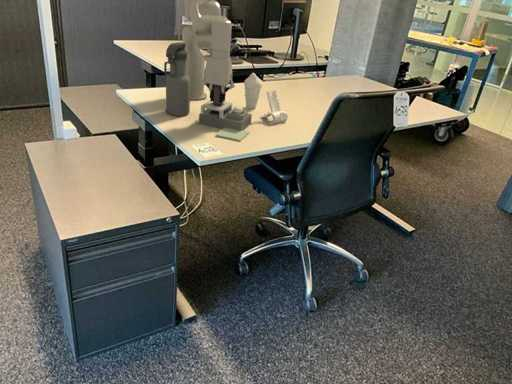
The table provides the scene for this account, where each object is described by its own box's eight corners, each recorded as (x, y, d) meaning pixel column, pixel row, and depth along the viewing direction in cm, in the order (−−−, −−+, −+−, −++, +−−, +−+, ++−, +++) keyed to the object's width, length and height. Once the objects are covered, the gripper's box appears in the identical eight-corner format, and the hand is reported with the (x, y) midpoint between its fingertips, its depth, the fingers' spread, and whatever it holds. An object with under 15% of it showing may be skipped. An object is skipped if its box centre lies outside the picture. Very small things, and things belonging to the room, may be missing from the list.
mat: (215, 136, 158) (215, 134, 158) (225, 128, 167) (225, 126, 167) (240, 141, 156) (240, 139, 156) (249, 133, 165) (249, 131, 164)
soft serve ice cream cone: (248, 103, 199) (251, 69, 192) (263, 107, 196) (267, 73, 188) (238, 107, 193) (241, 72, 185) (254, 111, 189) (257, 75, 182)
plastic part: (274, 125, 176) (277, 97, 171) (258, 117, 183) (261, 91, 177) (286, 122, 181) (290, 95, 176) (271, 115, 187) (274, 89, 182)
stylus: (211, 114, 170) (212, 84, 164) (214, 112, 173) (215, 82, 167) (218, 115, 169) (220, 85, 163) (222, 113, 172) (223, 84, 166)
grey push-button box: (198, 123, 169) (199, 105, 165) (210, 115, 179) (211, 98, 175) (241, 132, 164) (242, 114, 161) (250, 123, 175) (252, 106, 171)
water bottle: (178, 118, 172) (179, 47, 158) (160, 112, 176) (159, 42, 162) (194, 113, 179) (196, 44, 166) (176, 107, 184) (177, 40, 170)
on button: (232, 113, 167) (232, 108, 166) (235, 110, 170) (235, 106, 169) (240, 114, 166) (240, 110, 165) (243, 112, 169) (244, 107, 168)
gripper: (195, 52, 159) (194, 100, 167) (236, 59, 155) (233, 107, 163) (204, 49, 165) (202, 95, 174) (243, 56, 161) (239, 103, 170)
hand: (217, 101), depth 168 cm, fingers closed on stylus, 3 cm apart
